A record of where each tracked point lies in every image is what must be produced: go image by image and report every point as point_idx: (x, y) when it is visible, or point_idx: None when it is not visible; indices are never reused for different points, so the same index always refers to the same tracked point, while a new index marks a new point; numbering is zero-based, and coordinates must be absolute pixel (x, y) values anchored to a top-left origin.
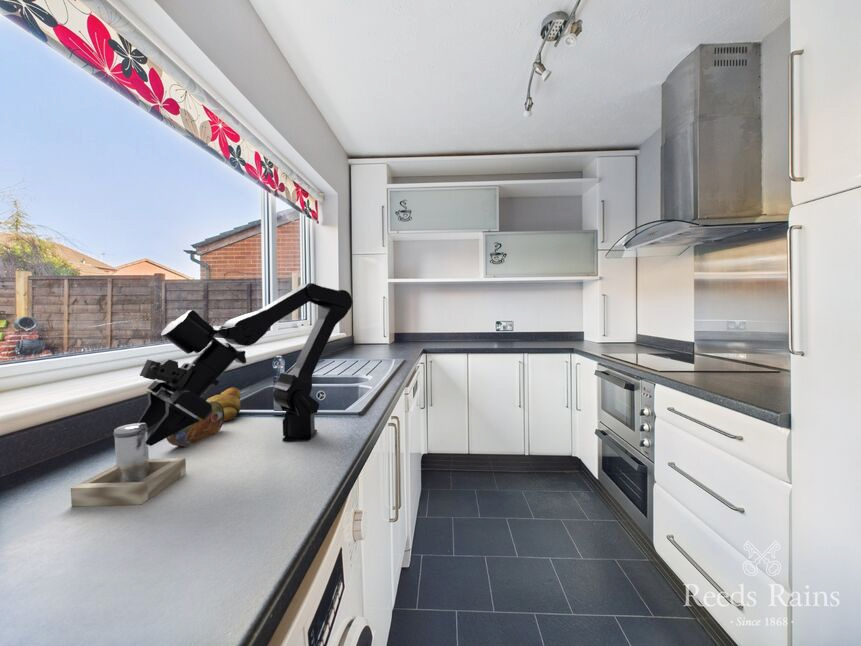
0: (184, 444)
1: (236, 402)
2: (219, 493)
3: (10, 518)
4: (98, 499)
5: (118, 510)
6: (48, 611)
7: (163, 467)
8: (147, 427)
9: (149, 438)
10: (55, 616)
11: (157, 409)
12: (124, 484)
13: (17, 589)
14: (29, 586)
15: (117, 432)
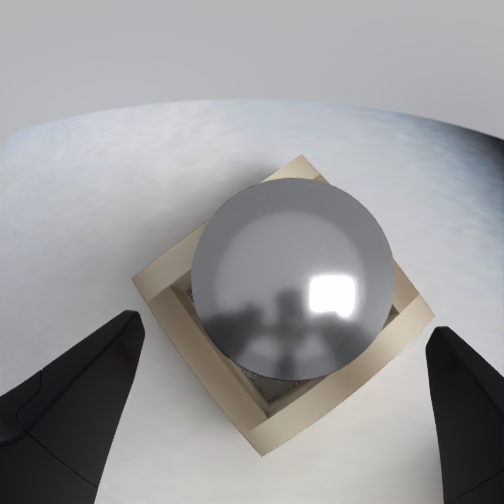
0: None
1: None
2: None
3: (337, 106)
4: None
5: (170, 244)
6: (13, 152)
7: (229, 380)
8: (250, 371)
9: (106, 323)
10: (4, 158)
11: (487, 481)
12: (187, 254)
13: (69, 123)
14: (62, 132)
15: (251, 188)
